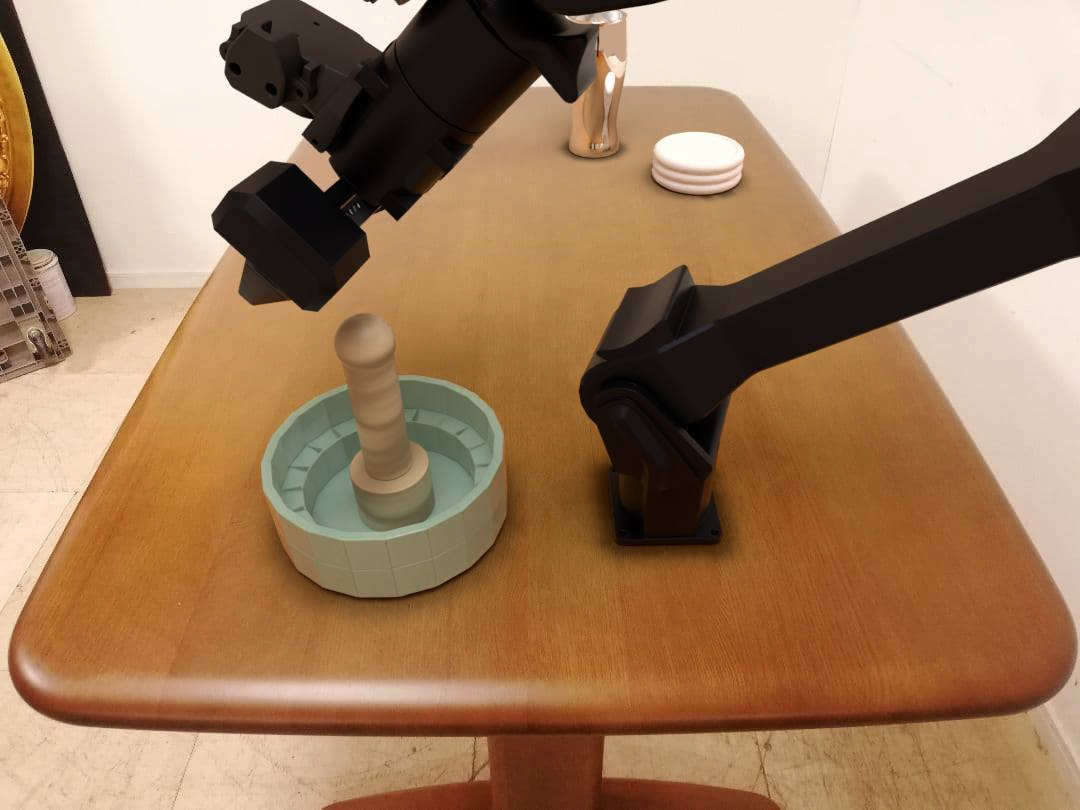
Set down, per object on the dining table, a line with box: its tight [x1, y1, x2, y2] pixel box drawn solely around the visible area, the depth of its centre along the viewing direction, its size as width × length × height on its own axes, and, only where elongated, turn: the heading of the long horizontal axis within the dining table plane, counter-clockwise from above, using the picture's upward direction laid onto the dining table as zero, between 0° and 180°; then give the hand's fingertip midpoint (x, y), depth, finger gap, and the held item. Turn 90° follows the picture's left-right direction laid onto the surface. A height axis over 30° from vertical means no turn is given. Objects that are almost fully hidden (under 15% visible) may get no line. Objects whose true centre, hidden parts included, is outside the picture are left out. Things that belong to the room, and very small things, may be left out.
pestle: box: [333, 312, 435, 532], centre depth 45 cm, size 5×5×14 cm
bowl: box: [260, 374, 508, 598], centre depth 48 cm, size 14×14×6 cm
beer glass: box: [567, 9, 629, 159], centre depth 90 cm, size 7×7×15 cm
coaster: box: [651, 131, 746, 196], centre depth 87 cm, size 10×10×4 cm
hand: (290, 258), depth 46 cm, fingers open, 9 cm apart
